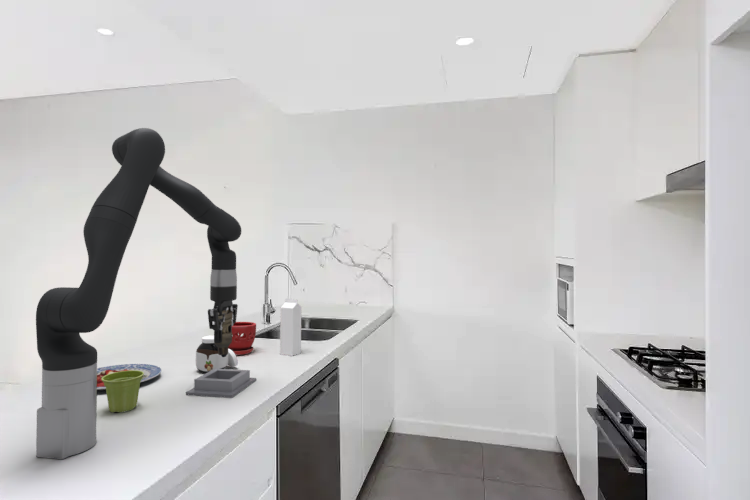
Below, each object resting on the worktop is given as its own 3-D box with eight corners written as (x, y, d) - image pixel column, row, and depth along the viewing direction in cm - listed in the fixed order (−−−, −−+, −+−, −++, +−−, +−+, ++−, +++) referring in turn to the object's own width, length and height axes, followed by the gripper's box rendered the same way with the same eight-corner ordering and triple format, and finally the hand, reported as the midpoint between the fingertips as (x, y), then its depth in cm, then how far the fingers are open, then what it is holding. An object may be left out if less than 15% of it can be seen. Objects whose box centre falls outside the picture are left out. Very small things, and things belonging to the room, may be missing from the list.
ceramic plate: (40, 395, 117) (40, 384, 117) (103, 369, 143) (103, 360, 143) (129, 397, 116) (130, 386, 116) (176, 370, 142) (176, 362, 142)
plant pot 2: (255, 356, 163) (255, 325, 163) (219, 357, 160) (220, 326, 160) (256, 348, 175) (257, 320, 175) (223, 349, 172) (224, 321, 172)
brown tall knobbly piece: (225, 360, 121) (226, 308, 121) (208, 358, 122) (209, 308, 122) (235, 355, 127) (236, 306, 127) (219, 354, 128) (220, 305, 128)
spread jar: (191, 373, 139) (192, 338, 139) (212, 364, 150) (213, 332, 150) (223, 376, 136) (223, 340, 136) (242, 366, 147) (242, 334, 147)
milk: (288, 351, 170) (289, 298, 171) (301, 353, 168) (301, 298, 168) (279, 354, 165) (280, 299, 165) (292, 356, 162) (293, 300, 163)
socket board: (232, 397, 116) (232, 384, 116) (185, 395, 118) (185, 381, 118) (256, 380, 132) (256, 368, 132) (215, 378, 134) (215, 366, 134)
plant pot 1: (108, 419, 101) (108, 383, 101) (96, 409, 107) (96, 375, 107) (149, 408, 108) (149, 375, 108) (135, 399, 114) (136, 368, 114)
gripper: (223, 286, 117) (222, 346, 117) (246, 283, 131) (245, 336, 131) (198, 286, 118) (198, 345, 118) (223, 282, 132) (223, 335, 132)
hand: (223, 340), depth 125 cm, fingers closed on brown tall knobbly piece, 5 cm apart
